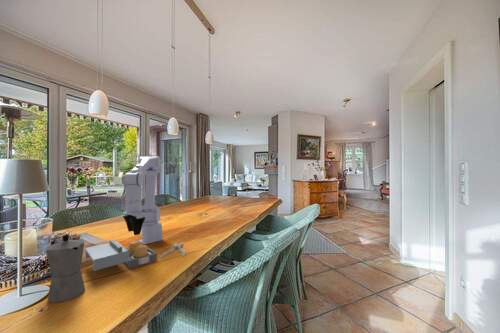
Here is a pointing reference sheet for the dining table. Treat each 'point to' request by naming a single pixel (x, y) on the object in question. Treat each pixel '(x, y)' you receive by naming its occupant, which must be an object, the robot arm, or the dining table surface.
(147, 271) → the dining table surface
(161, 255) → the hammer
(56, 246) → the coffeepot
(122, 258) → the lid
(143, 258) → the housing
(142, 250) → the jaw seated
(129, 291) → the dining table surface
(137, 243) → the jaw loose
